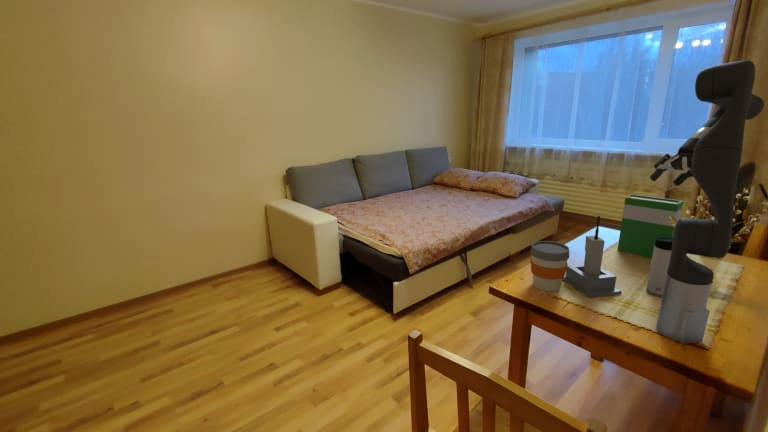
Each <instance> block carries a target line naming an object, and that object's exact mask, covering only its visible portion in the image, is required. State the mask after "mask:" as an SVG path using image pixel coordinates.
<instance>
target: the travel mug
mask: <svg viewBox="0 0 768 432" xmlns="http://www.w3.org/2000/svg"><path fill="white" fill-rule="evenodd" d="M672 242H673V238H671V237H661V238H656V241H655V245H654V250H653V256H652V258H651V263H650V267H649V273H648V279H647V283H646V290H645V291H646V293H648V294H650V295H652V296H654V297H658V298H662V295H663V290H664V285H665V280H666V275H667V270H668V266H669V261H670V256H671V250H672Z"/></svg>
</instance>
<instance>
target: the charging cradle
mask: <svg viewBox="0 0 768 432" xmlns="http://www.w3.org/2000/svg"><path fill="white" fill-rule="evenodd" d="M583 268H584V263H580V264H579V263H578V264H571V265H569V264H568V265H567V269H566V273H565V276H564V277H563V279H562V281H564V282H565V283H567V284H568V285H570V286H571V287H573V288H574V289H575V290H577V291H578V292H579V293H581V294H582V295H583V296H585V297H586V298H588V299H593V298H602V297H609V296H618V295H619V296H620V295H622V290H621V289H620V288H617V287H616V281H617V275H615V274H613V273H612V272H611V271H608V270H606V269H605V268H604V267H601V270H600V275H598V276H588V275H587V274H585V273H583Z"/></svg>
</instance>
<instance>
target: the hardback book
mask: <svg viewBox="0 0 768 432" xmlns="http://www.w3.org/2000/svg"><path fill="white" fill-rule="evenodd" d="M683 205H684V200H681V199H672V198H663V197H658V196H657V197H655V196H647V195H641V194H630V197H628V196H626V197H625V199H624V204H623V211H622V216H621V217H622V218H621V225H620V232H619V237H618V244H617V251H619V252H623V251H624V252H623V253H627V254H632V255H636V256H641V257H644V258H649V259H652V256H653V250H654V245H655V241H656V238H661V237H671V238H673V234H674V228H675V227H674V226H673V225H671V223H670V224H669V222H670V221H671V219H670V218H669V217H670V216H672V217H674V218H675V219H676V220H677V221H678V220H679V219H681V215H682V209H683ZM661 216H662V217H661ZM659 217H660V218H659ZM666 220H667V222H668V221H669V222H668V223H666Z"/></svg>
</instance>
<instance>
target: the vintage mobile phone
mask: <svg viewBox="0 0 768 432" xmlns="http://www.w3.org/2000/svg"><path fill="white" fill-rule="evenodd" d="M600 220H601V216H600V215H598V216H597V221H596V229H595V234H594V235H586V236H585V243H584V244H585V245H584V247H585V248H584V252H585V254H584V261H583V264H584V268H583V273H585V274H587V275H588V276H598V275H600V270H601V268H602V261H603V256H604V255H603V254H604V247H605V240H604V239H603V238H601V237H599V230H600V229H599V226H600Z"/></svg>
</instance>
